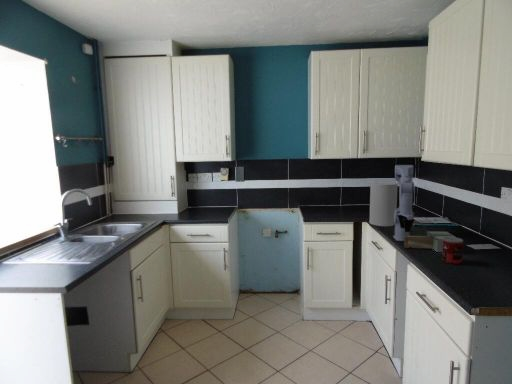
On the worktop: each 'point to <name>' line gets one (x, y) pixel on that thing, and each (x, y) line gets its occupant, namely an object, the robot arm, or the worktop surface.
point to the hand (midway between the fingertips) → (405, 230)
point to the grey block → (438, 239)
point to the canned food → (452, 250)
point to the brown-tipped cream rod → (418, 241)
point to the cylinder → (383, 203)
